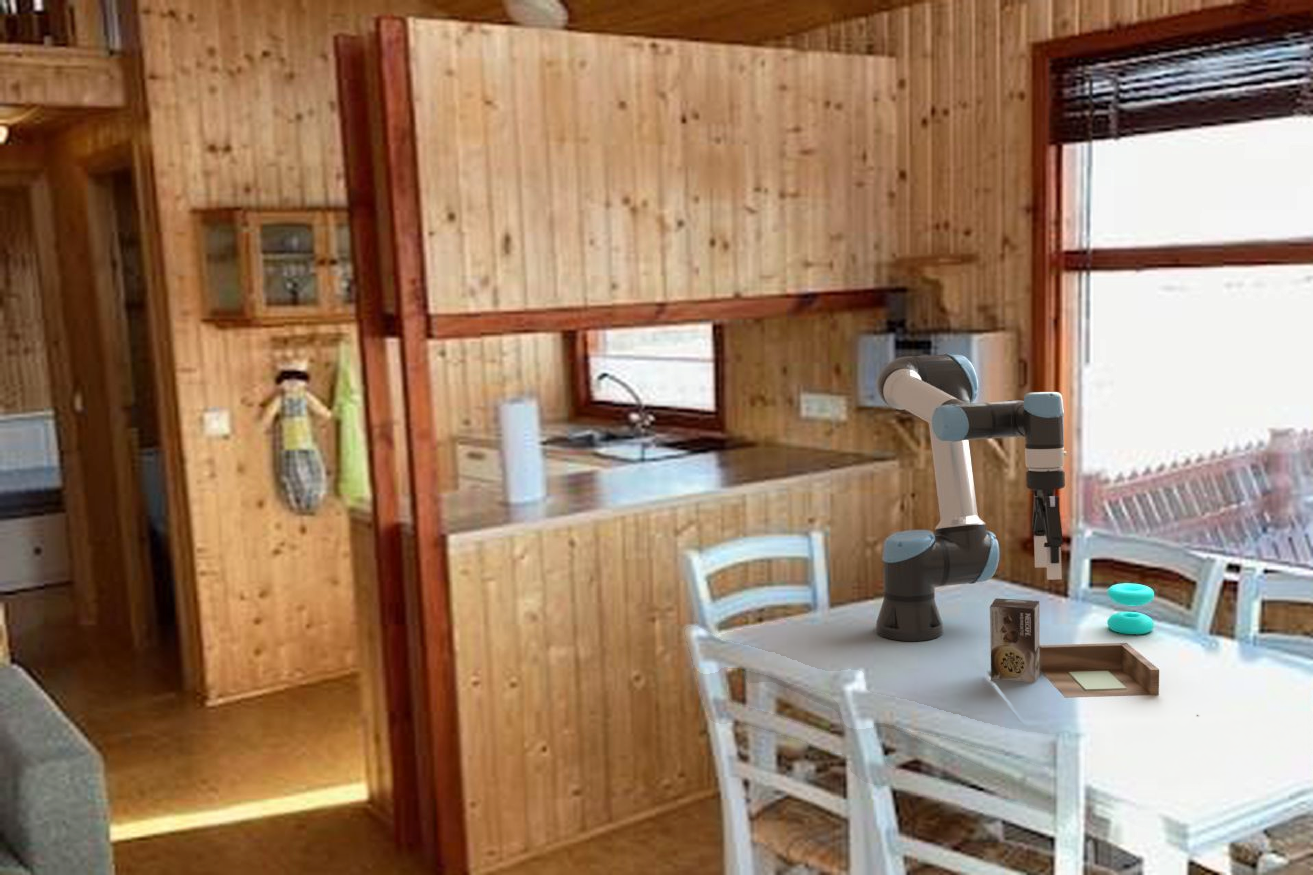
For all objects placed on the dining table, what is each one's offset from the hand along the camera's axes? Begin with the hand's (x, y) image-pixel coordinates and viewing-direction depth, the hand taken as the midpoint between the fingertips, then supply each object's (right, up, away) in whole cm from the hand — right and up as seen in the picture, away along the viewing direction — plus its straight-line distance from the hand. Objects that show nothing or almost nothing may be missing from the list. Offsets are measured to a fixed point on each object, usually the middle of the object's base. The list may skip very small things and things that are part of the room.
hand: (1047, 573), depth 263 cm
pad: (+9, -21, -3) cm, 23 cm away
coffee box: (-6, -22, +2) cm, 23 cm away
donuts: (+29, -17, +34) cm, 48 cm away
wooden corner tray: (+9, -22, -3) cm, 24 cm away
